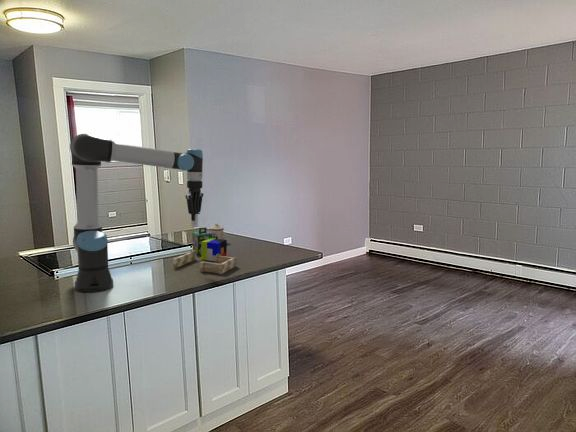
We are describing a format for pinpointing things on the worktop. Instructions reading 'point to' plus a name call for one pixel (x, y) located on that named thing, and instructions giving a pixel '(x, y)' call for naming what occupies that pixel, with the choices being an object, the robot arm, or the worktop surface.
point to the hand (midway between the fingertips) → (194, 226)
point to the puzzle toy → (213, 248)
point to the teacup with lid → (217, 232)
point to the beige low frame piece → (219, 266)
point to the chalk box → (200, 239)
